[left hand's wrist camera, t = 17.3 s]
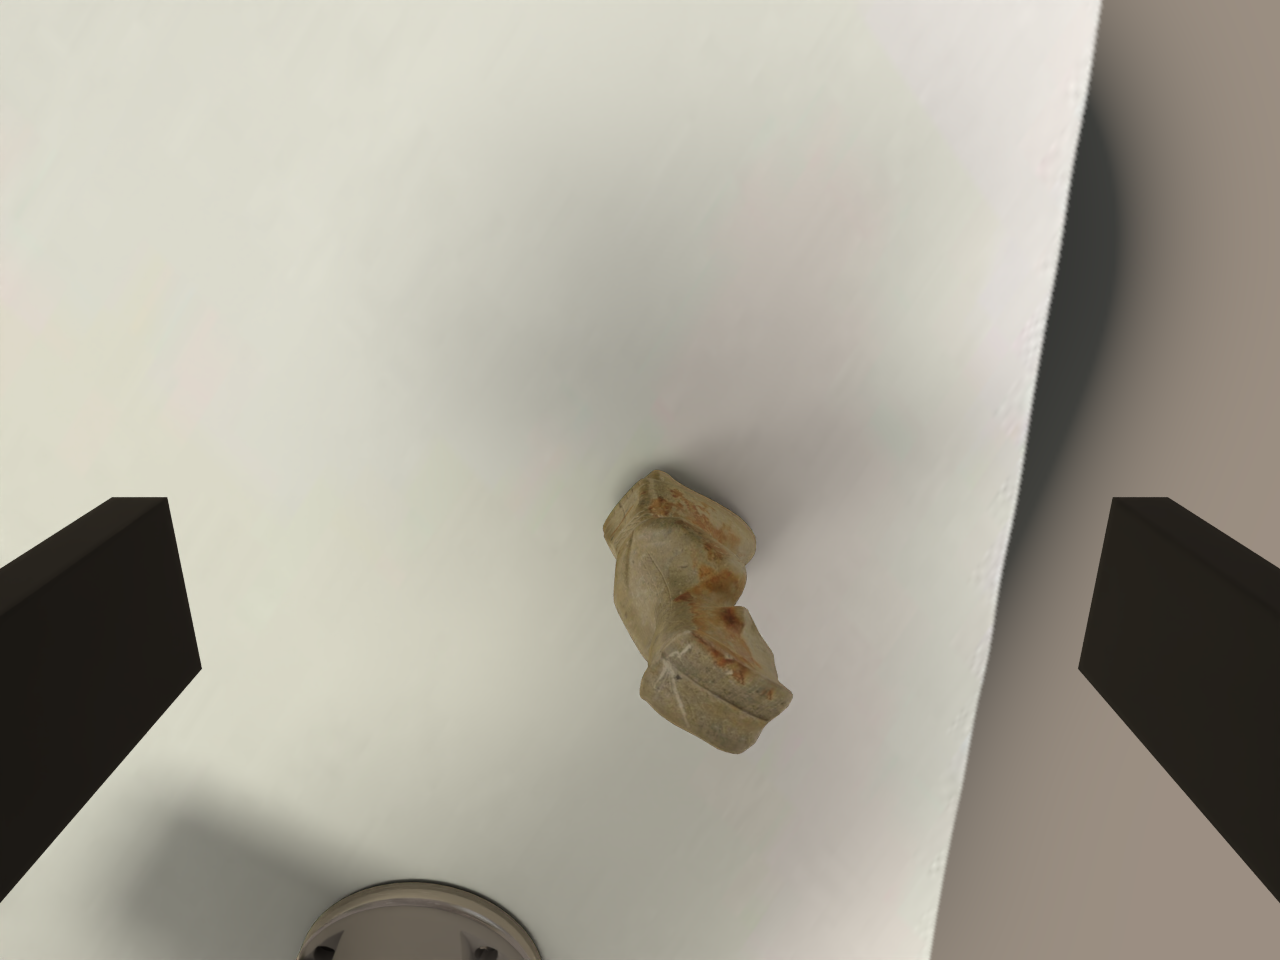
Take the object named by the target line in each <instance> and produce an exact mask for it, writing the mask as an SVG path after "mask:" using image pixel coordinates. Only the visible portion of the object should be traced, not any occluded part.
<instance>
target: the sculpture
mask: <svg viewBox="0 0 1280 960" xmlns="http://www.w3.org/2000/svg"><path fill="white" fill-rule="evenodd" d="M603 531H604V538H605V540H606V542H607V544H608V546H609V548H610V550H611V551H612V553H613V555H614V557H615V558H616V559H617V561H616V569H615V581H614V603H615V606H616V609H617V611H618V613H619V615H620V617H621V619H622V621H623V623H624V625H625V627H626V629H627V630H628V632H629V634H630V636H631V638H632V639H633V641H634V643H635V645H636V646H637V648H638V650H639V651H640V653H641V654H642V656H643V657H644V658H645V659H646V661H647V662H648V668H647V670H646V671H645V673H644V675H643V678H642V680H641V685H640V696H641V698H642V699H644V700H645V701H647V702H648V703H649V704H650V705H651V707H652V708H653V709H654V710H655V711H656V712H658V713H659V714H660V715H661V716H662V717H664V718H665V719H667V720H668V721H670V722H671V723H673V724H674V725H676V726H678V727H680V728H682V729H684V730H686V731H687V732H689V733H691V734H693V735H695V736H697V737H699V738H700V739H702V740H704V741H705V742H707V743H709V744H710V745H712V746H714V747H715V748H717V749H719V750H722V751H725V752H729V753H733V754H740V753H742V752H744V751H745V750H747V749H748V748H749V747H751V746H752V745H753V744H754V743H755V742H756V741H757V739H758V737H759V735H760V733H761V731H762V729H763V728H764V727H765V725H766V724H767V723H768V722H770V721H771V720H772V719H774V718H775V717H776V716H778V715H779V714H780V713H781V712H782V711H783V710H785V709H786V708H787V707H788V705H789V704H790V702H791V700H792V698H793V694H792V693H791V691H789V690H788V689H787V688H786V687H785V686H783V685H782V684H781V683H780V682H779V681H778V675H777V671H776V667H775V664H774V655H773V653H772V651H771V650H770V648H769V647H768V645H767V644H766V642H765V641H764V640H763V638H762V637H761V635H760V634H759V632H758V630H757V628H756V626H755V624H754V622H753V620H752V617H751V615H750V613H749V611H748V610H747V609H746V608H745V607H742V606H734V605H735V604H736V602H737V600H738V599H739V597H740V596H741V594H742V592H743V590H744V587H745V584H746V578H747V575H746V569H745V565H746V564H747V563H748V562H749V561H750V560H751V559H752V557H753V556H754V554H755V550H756V539H755V536H754V534H753V532H752V530H751V529H750V528H749V526H748V525H747V524H746V523H745V522H744V521H743V520H742V519H741V518H740V517H739V516H737V515H736V514H735V513H733V512H732V511H730V510H729V509H727V508H725V507H724V506H722V505H720V504H718V503H717V502H715V501H713V500H711V499H709V498H707V497H705V496H703V495H701V494H699V493H697V492H695V491H693V490H691V489H689V488H687V487H685V486H683V485H682V484H680V483H679V482H677V481H676V480H674V479H673V478H672V477H671V476H670V475H669V474H667V473H665V472H663V471H660V470H654V471H652V472H651V473H650V474H649V475H648V476H646V477H645V478H643V479H641V480H639V481H638V482H637V483H636V484H635V485H634V486H633V487H632V488H631V489H630V490H629V491H628V492H627V493H626V495H625V496H624V497H623V498H622V499H621V500H620V502H619V503H618V504H617V505H616V506H615V508H614V509H613V510H612V512H611V513H610V515H609V516H608V518H607V519H606V521H605V523H604V525H603Z"/></svg>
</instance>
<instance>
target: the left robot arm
mask: <svg viewBox="0 0 1280 960" xmlns="http://www.w3.org/2000/svg"><path fill="white" fill-rule="evenodd" d="M201 669H202V667H201V662H200V657H199V652H198V647H197V642H196V637H195V632H194V627H193V622H192V617H191V612H190V608H189V603H188V598H187V593H186V588H185V583H184V578H183V573H182V568H181V563H180V558H179V553H178V548H177V543H176V538H175V533H174V528H173V523H172V519H171V514H170V509H169V504H168V499H167V497H112V498H110V499H109V500H107V501H105V502H104V503H102V504H101V505H99V506H98V507H96V508H95V509H93V510H91V511H90V512H88V513H87V514H85V515H84V516H82V517H80V518H79V519H77V520H76V521H74V522H73V523H71V524H69V525H68V526H66V527H65V528H63V529H62V530H60V531H59V532H57V533H55V534H54V535H52V536H51V537H49V538H48V539H46V540H44V541H43V542H41V543H40V544H38V545H37V546H35V547H33V548H32V549H30V550H29V551H27V552H26V553H24V554H22V555H21V556H19V557H18V558H16V559H15V560H13V561H12V562H10V563H8V564H7V565H5V566H4V567H2V568H1V569H0V903H1V901H2V900H3V899H4V898H5V897H6V896H7V894H8V893H9V892H10V891H11V890H12V889H13V887H14V886H15V885H16V884H17V883H18V882H19V880H20V879H21V878H22V877H23V876H24V875H25V874H26V872H27V871H28V870H29V869H30V868H31V867H32V865H33V864H34V863H35V862H36V861H37V860H38V858H39V857H40V856H41V855H42V854H43V853H44V851H45V850H46V849H47V848H48V847H49V846H50V844H51V843H52V842H53V841H54V840H55V839H56V838H57V836H58V835H59V834H60V833H61V832H62V831H63V829H64V828H65V827H66V826H67V825H68V824H69V822H70V821H71V820H72V819H73V818H74V817H75V815H76V814H77V813H78V812H79V811H80V810H81V808H82V807H83V806H84V805H85V804H86V803H87V802H88V800H89V799H90V798H91V797H92V796H93V795H94V793H95V792H96V791H97V790H98V789H99V788H100V786H101V785H102V784H103V783H104V782H105V781H106V779H107V778H108V777H109V776H110V775H111V774H112V773H113V771H114V770H115V769H116V768H117V767H118V766H119V764H120V763H121V762H122V761H123V760H124V759H125V757H126V756H127V755H128V754H129V753H130V752H131V750H132V749H133V748H134V747H135V746H136V745H137V743H138V742H139V741H140V740H141V739H142V738H143V737H144V735H145V734H146V733H147V732H148V731H149V730H150V728H151V727H152V726H153V725H154V724H155V723H156V721H157V720H158V719H159V718H160V717H161V716H162V714H163V713H164V712H165V711H166V710H167V709H168V708H169V706H170V705H171V704H172V703H173V702H174V701H175V699H176V698H177V697H178V696H179V695H180V694H181V692H182V691H183V690H184V689H185V688H186V687H187V685H188V684H189V683H190V682H191V681H192V680H193V678H194V677H195V676H196V675H197V674H198V673H199V672H200V670H201ZM1078 669H1079V670H1080V672H1081V673H1082V674H1083V675H1084V676H1085V677H1086V678H1087V680H1088V681H1089V682H1090V683H1091V684H1092V685H1093V687H1094V688H1095V689H1096V690H1097V691H1098V692H1099V694H1100V695H1101V696H1102V697H1103V698H1104V699H1105V701H1106V702H1107V703H1108V704H1109V705H1110V706H1111V707H1112V709H1113V710H1114V711H1115V712H1116V713H1117V714H1118V716H1119V717H1120V718H1121V719H1122V720H1123V721H1124V723H1125V724H1126V725H1127V726H1128V727H1129V728H1130V730H1131V731H1132V732H1133V733H1134V734H1135V735H1136V737H1137V738H1138V739H1139V740H1140V741H1141V742H1142V743H1143V745H1144V746H1145V747H1146V748H1147V749H1148V750H1149V752H1150V753H1151V754H1152V755H1153V756H1154V757H1155V759H1156V760H1157V761H1158V762H1159V763H1160V764H1161V766H1162V767H1163V768H1164V769H1165V770H1166V771H1167V773H1168V774H1169V775H1170V776H1171V777H1172V778H1173V779H1174V781H1175V782H1176V783H1177V784H1178V785H1179V786H1180V788H1181V789H1182V790H1183V791H1184V792H1185V793H1186V795H1187V796H1188V797H1189V798H1190V799H1191V800H1192V802H1193V803H1194V804H1195V805H1196V806H1197V807H1198V809H1199V810H1200V811H1201V812H1202V813H1203V814H1204V815H1205V817H1206V818H1207V819H1208V820H1209V821H1210V822H1211V824H1212V825H1213V826H1214V827H1215V828H1216V829H1217V831H1218V832H1219V833H1220V834H1221V835H1222V836H1223V838H1224V839H1225V840H1226V841H1227V842H1228V843H1229V844H1230V846H1231V847H1232V848H1233V849H1234V850H1235V851H1236V853H1237V854H1238V855H1239V856H1240V857H1241V858H1242V860H1243V861H1244V862H1245V863H1246V864H1247V865H1248V867H1249V868H1250V869H1251V870H1252V871H1253V872H1254V874H1255V875H1256V876H1257V877H1258V878H1259V879H1260V880H1261V882H1262V883H1263V884H1264V885H1265V886H1266V887H1267V889H1268V890H1269V891H1270V892H1271V893H1272V894H1273V896H1274V897H1275V898H1276V899H1277V900H1278V901H1279V903H1280V569H1279V568H1278V567H1276V566H1275V565H1273V564H1272V563H1270V562H1268V561H1267V560H1265V559H1264V558H1262V557H1261V556H1259V555H1258V554H1256V553H1254V552H1253V551H1251V550H1250V549H1248V548H1247V547H1245V546H1243V545H1242V544H1240V543H1239V542H1237V541H1235V540H1234V539H1232V538H1231V537H1229V536H1228V535H1226V534H1225V533H1223V532H1221V531H1220V530H1218V529H1217V528H1215V527H1214V526H1212V525H1211V524H1209V523H1207V522H1206V521H1204V520H1203V519H1201V518H1200V517H1198V516H1196V515H1195V514H1193V513H1192V512H1190V511H1189V510H1187V509H1185V508H1184V507H1182V506H1181V505H1179V504H1178V503H1176V502H1175V501H1173V500H1171V499H1170V498H1168V497H1113V499H1112V504H1111V509H1110V514H1109V519H1108V524H1107V528H1106V533H1105V538H1104V543H1103V548H1102V553H1101V558H1100V563H1099V568H1098V573H1097V578H1096V583H1095V588H1094V593H1093V598H1092V603H1091V608H1090V612H1089V617H1088V622H1087V627H1086V632H1085V637H1084V642H1083V647H1082V652H1081V657H1080V662H1079V667H1078ZM296 960H541V958H540V955H539V952H538V950H537V948H536V946H535V944H534V942H533V941H532V939H531V938H530V936H529V935H528V933H527V932H526V931H525V930H524V929H523V928H522V926H521V925H520V924H519V923H518V922H517V921H516V920H514V919H513V918H512V917H511V916H510V915H509V914H507V913H506V912H505V911H503V910H502V909H500V908H499V907H497V906H496V905H494V904H493V903H491V902H489V901H487V900H485V899H483V898H481V897H479V896H477V895H474V894H472V893H469V892H466V891H463V890H460V889H457V888H453V887H449V886H444V885H439V884H431V883H419V882H404V883H392V884H385V885H380V886H375V887H371V888H368V889H364V890H362V891H359V892H357V893H354V894H352V895H350V896H348V897H346V898H344V899H342V900H340V901H339V902H337V903H336V904H334V905H333V906H331V907H330V908H329V909H328V910H326V911H325V912H324V913H323V914H322V915H321V916H320V917H319V918H318V919H317V921H316V922H315V923H314V924H313V926H312V927H311V929H310V930H309V932H308V934H307V936H306V938H305V940H304V943H303V945H302V947H301V950H300V952H299V954H298V957H297V959H296Z"/></svg>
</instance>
